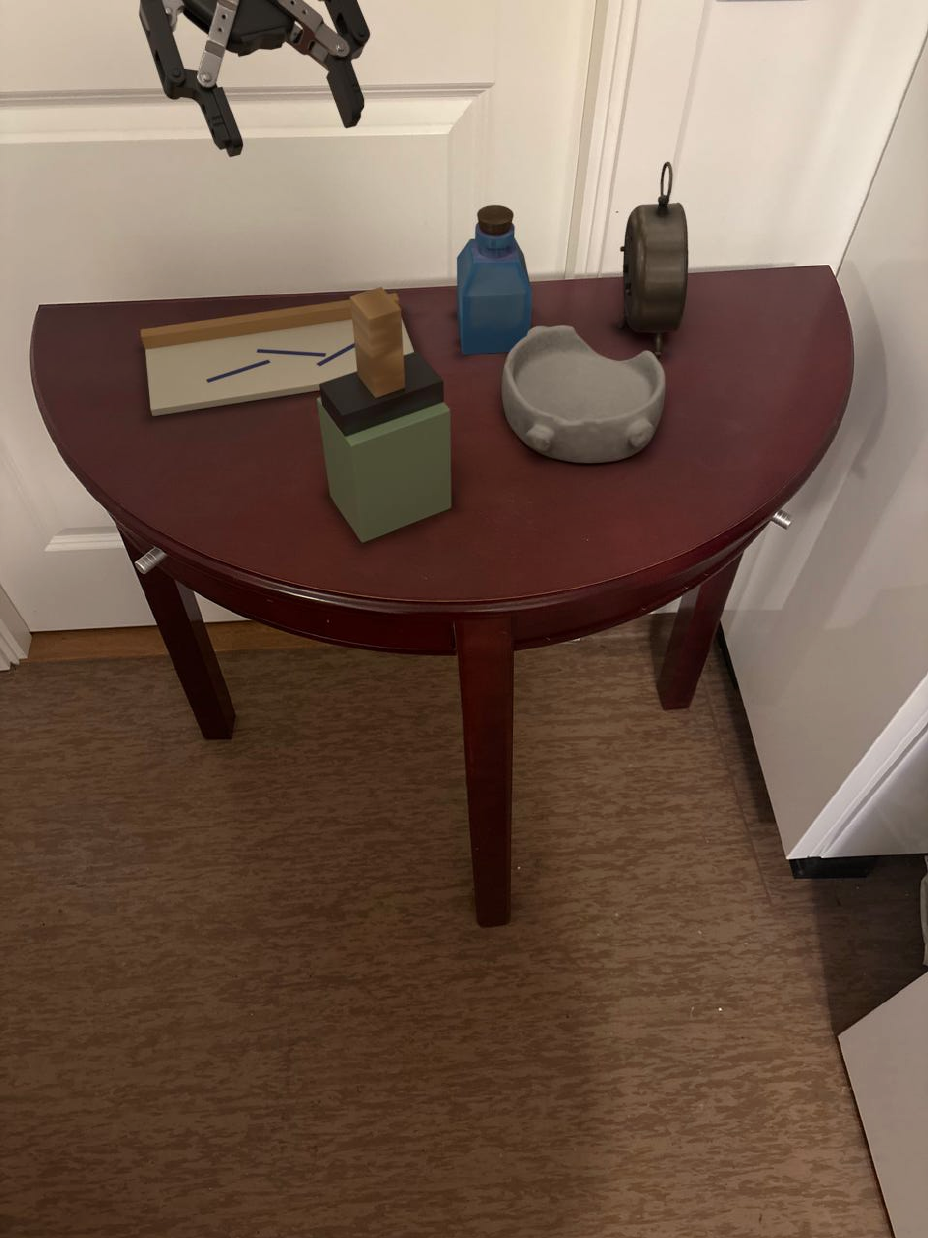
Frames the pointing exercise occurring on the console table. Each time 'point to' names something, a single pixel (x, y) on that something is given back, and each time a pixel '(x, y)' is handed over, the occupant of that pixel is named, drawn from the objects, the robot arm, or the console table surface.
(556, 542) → the console table surface
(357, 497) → the block
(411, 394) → the eraser
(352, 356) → the board
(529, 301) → the perfume bottle
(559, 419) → the dish
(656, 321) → the alarm clock
